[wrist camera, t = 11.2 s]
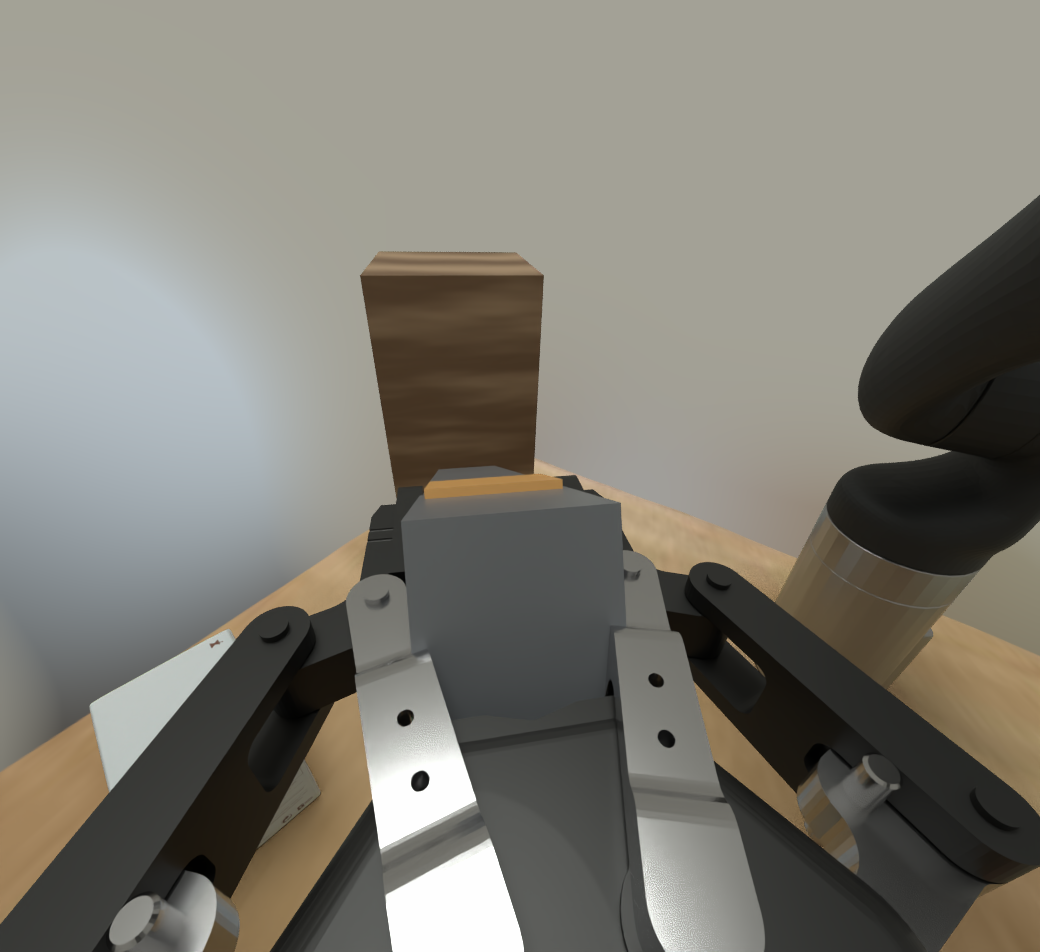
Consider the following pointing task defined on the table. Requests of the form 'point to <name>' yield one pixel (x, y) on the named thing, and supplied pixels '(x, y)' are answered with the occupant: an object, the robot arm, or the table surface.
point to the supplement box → (150, 705)
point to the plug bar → (513, 590)
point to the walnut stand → (455, 359)
